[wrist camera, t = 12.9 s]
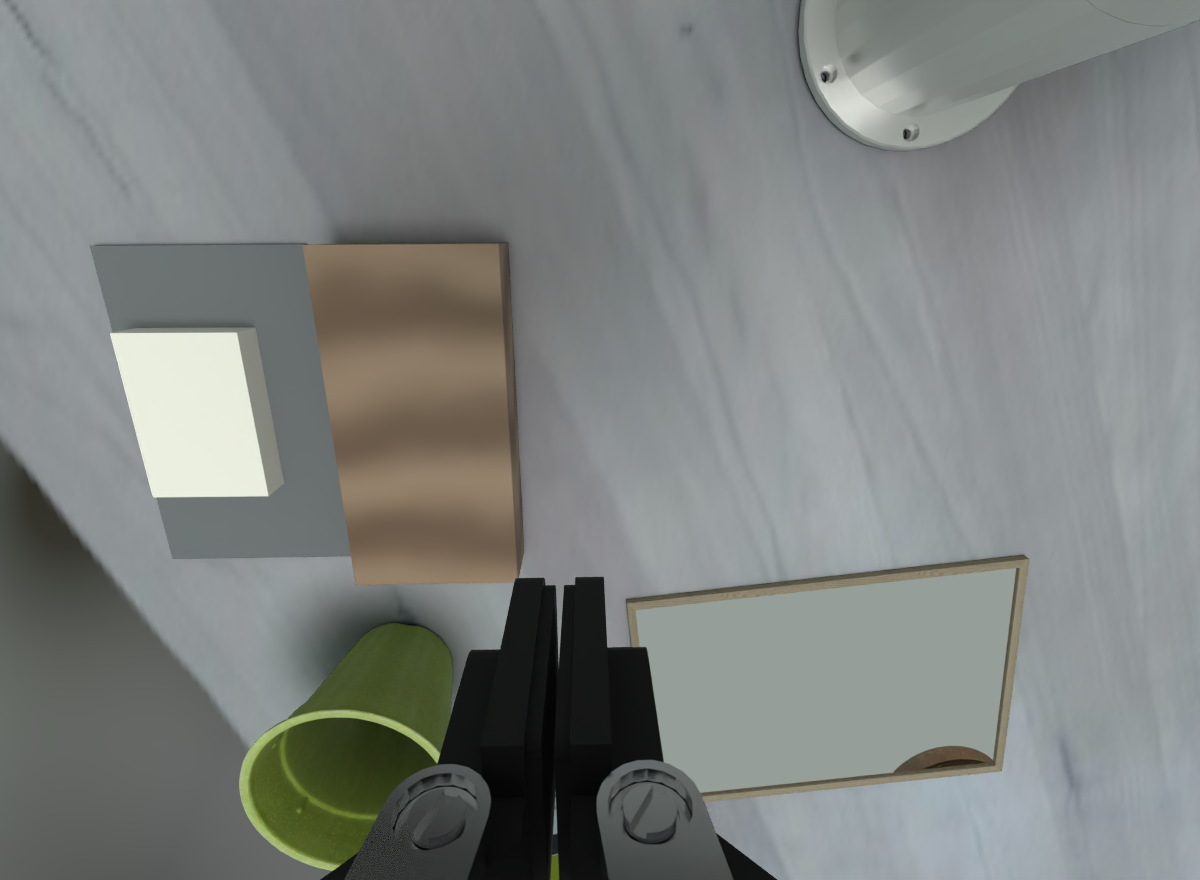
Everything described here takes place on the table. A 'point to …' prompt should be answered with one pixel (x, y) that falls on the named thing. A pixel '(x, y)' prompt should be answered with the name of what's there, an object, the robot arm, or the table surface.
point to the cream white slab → (200, 410)
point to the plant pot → (350, 746)
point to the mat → (293, 380)
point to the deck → (422, 407)
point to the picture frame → (835, 677)
